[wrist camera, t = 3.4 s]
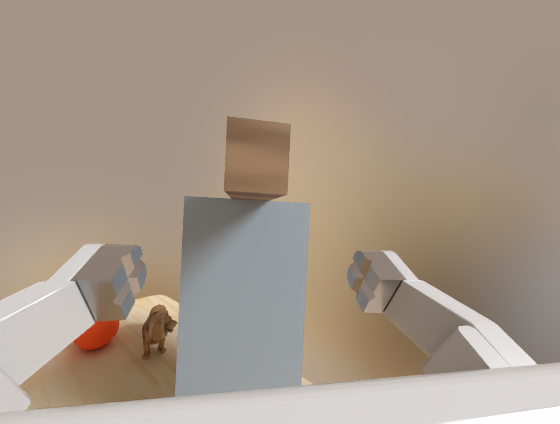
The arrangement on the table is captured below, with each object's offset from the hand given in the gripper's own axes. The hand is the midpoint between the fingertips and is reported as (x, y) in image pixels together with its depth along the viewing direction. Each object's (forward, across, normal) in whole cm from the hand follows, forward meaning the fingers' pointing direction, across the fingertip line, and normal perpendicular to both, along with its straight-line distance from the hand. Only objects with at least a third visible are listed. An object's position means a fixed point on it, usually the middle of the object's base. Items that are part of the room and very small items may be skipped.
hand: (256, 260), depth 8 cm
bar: (+14, 0, +5) cm, 15 cm away
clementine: (+20, +28, +42) cm, 54 cm away
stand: (+3, 0, +32) cm, 32 cm away
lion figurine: (+20, +16, +42) cm, 49 cm away
